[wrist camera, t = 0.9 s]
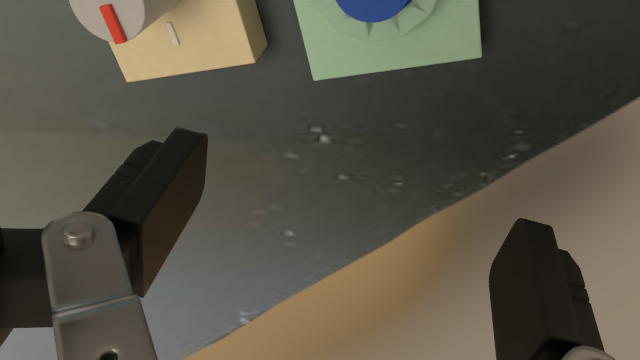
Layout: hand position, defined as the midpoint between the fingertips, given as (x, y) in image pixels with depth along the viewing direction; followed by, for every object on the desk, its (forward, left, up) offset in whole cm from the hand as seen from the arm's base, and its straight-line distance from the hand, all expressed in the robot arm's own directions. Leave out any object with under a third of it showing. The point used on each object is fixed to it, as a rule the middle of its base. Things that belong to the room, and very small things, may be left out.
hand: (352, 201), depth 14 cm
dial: (-3, -14, -18) cm, 23 cm away
